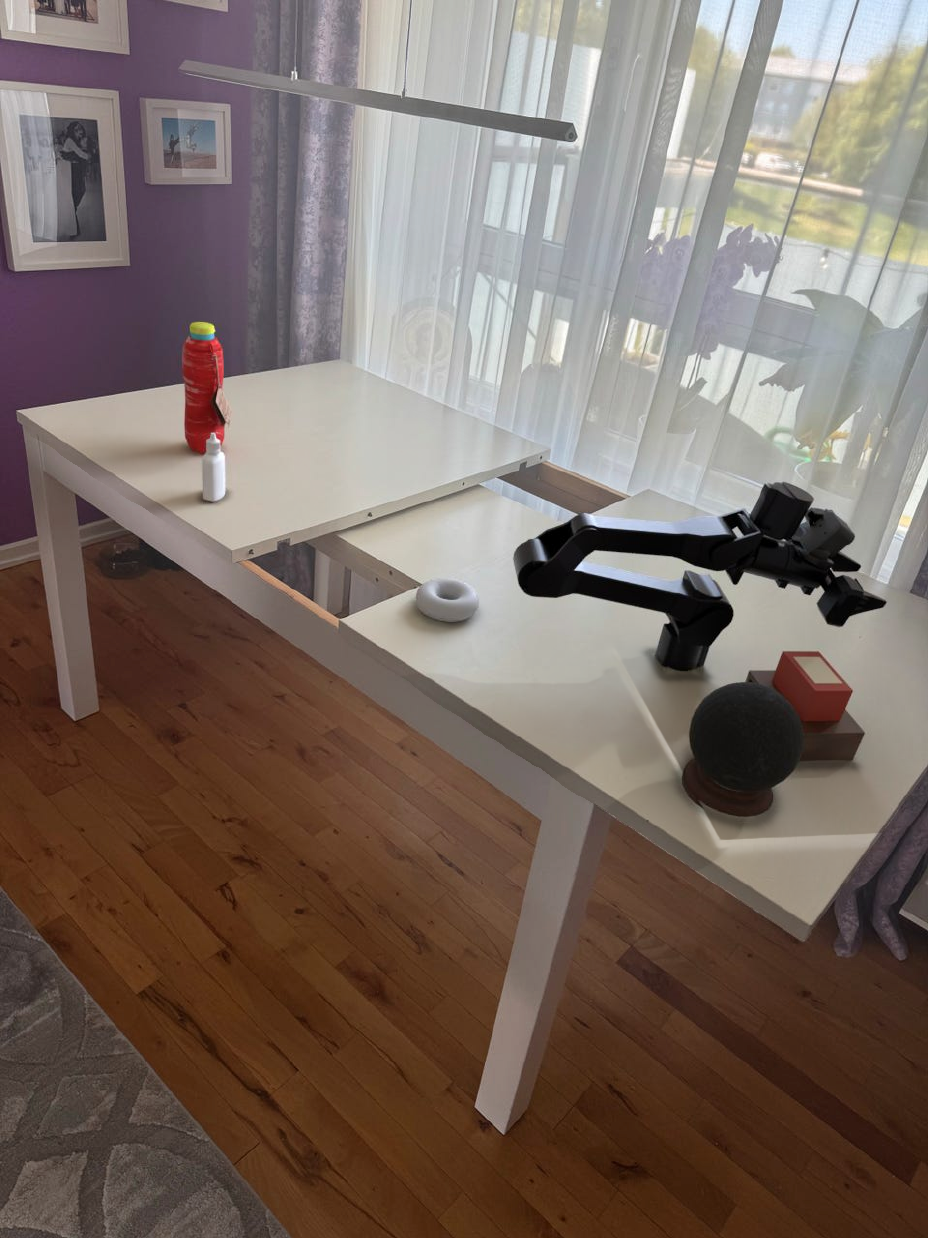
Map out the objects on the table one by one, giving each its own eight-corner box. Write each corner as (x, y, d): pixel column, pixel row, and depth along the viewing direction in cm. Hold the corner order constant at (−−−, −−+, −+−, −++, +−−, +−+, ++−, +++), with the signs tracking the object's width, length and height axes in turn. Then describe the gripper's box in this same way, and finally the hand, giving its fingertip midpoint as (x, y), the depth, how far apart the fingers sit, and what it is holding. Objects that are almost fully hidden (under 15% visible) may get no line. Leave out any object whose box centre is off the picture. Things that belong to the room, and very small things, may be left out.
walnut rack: (783, 766, 119) (796, 734, 116) (738, 700, 131) (749, 670, 128) (851, 764, 121) (865, 732, 118) (800, 700, 133) (812, 670, 130)
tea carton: (802, 721, 119) (815, 690, 116) (771, 680, 126) (782, 650, 123) (840, 721, 120) (853, 690, 117) (807, 680, 127) (819, 650, 125)
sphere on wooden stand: (785, 777, 117) (823, 683, 109) (772, 842, 106) (814, 743, 99) (685, 742, 121) (715, 648, 113) (663, 801, 110) (695, 703, 102)
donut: (456, 634, 136) (489, 607, 144) (459, 615, 135) (492, 588, 142) (401, 610, 140) (436, 585, 148) (403, 591, 138) (438, 567, 146)
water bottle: (243, 457, 182) (243, 331, 169) (208, 465, 176) (206, 336, 163) (210, 437, 188) (207, 314, 175) (175, 444, 183) (170, 318, 170)
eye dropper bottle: (194, 495, 164) (191, 432, 158) (218, 488, 169) (217, 426, 162) (209, 504, 162) (208, 440, 156) (234, 496, 166) (233, 433, 160)
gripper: (831, 548, 116) (934, 577, 119) (784, 479, 131) (877, 506, 134) (787, 616, 122) (886, 641, 126) (747, 542, 137) (836, 567, 140)
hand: (871, 585), depth 131 cm, fingers open, 9 cm apart
